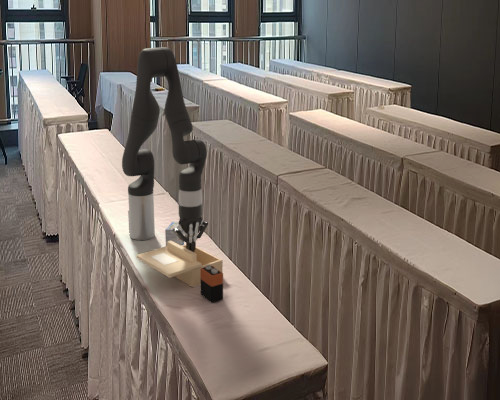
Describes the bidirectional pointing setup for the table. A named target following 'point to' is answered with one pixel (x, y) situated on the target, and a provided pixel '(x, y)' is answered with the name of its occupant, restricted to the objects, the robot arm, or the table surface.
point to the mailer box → (195, 275)
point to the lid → (171, 259)
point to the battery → (211, 284)
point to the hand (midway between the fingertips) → (190, 251)
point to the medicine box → (173, 234)
